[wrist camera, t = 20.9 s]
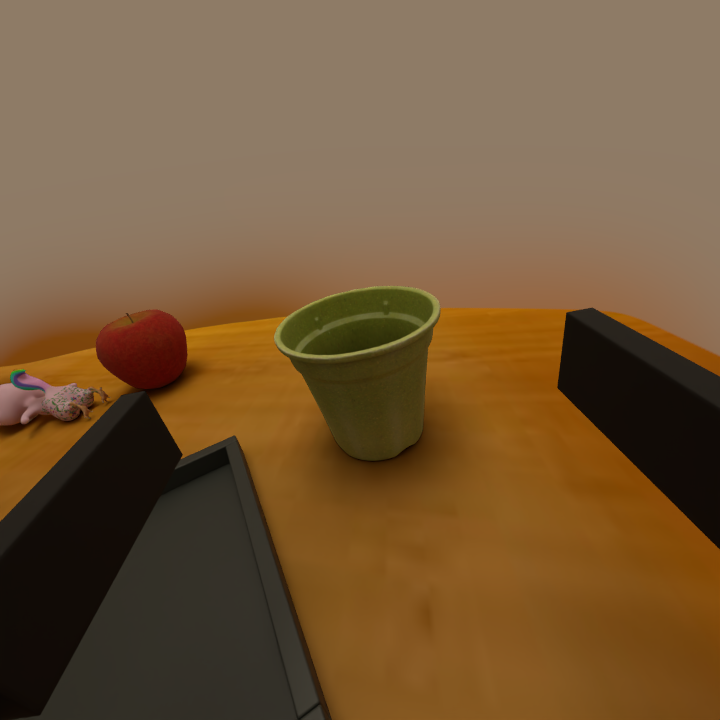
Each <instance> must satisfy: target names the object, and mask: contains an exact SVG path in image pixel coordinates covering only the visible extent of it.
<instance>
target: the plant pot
mask: <svg viewBox="0 0 720 720" xmlns="http://www.w3.org/2000/svg"><path fill="white" fill-rule="evenodd" d="M439 317H440V304H439V301H438V300H437V299H436V298H435V297H434V296H433V295H432V294H430V293H428V292H426V291H423V290H420V289H416V288H411V287H402V286H378V287H369V288H362V289H356V290H351V291H347V292H343V293H339V294H335V295H331V296H328V297H326V298H323V299H320V300H318V301H315V302H312V303H311V304H308V305H306V306H304V307H303V308H301V309H299V310H297V311H296V312H294V313H293V314H291V315H289V316H288V317H287V318H286V319H285V320H283V322H282V323H281V324H280V325H279V326H278V328H277V330H276V333H275V336H274V340H275V343H276V345H277V347H278V349H279V350H280V351H281V352H282V353H283V354H284V355H286V356H287V357H289V358H290V360H291V362H292V364H293V366H294V367H295V368H296V370H298V371H299V372H300V373H301V374H302V376H303V377H304V379H305V381H306V383H307V385H308V387H309V389H310V391H311V393H312V394H313V396H314V398H315V400H316V402H317V404H318V406H319V408H320V410H321V412H322V414H323V416H324V418H325V420H326V422H327V424H328V426H329V428H330V430H331V432H332V434H333V436H334V438H335V440H336V442H337V444H338V445H339V446H340V447H341V448H342V449H343V450H344V451H345V452H346V453H347V454H348V455H350V456H352V457H354V458H357V459H361V460H368V461H377V460H385V459H389V458H392V457H395V456H397V455H398V454H399V453H400V452H401V451H402V450H404V449H405V448H407V447H408V446H410V445H413V444H415V443H416V442H417V441H418V439H419V438H420V436H421V433H422V431H423V420H424V400H425V383H426V368H427V355H428V347H429V345H430V343H431V340H432V335H433V327H434V326H435V325H436V323H437V321H438V319H439Z"/></svg>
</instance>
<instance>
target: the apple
mask: <svg viewBox="0 0 720 720" xmlns="http://www.w3.org/2000/svg"><path fill="white" fill-rule="evenodd" d="M126 314H127V316H125V317H122V318H120V319H118V320H116V321H114V322H112V323H110V324H108V325H106V326H105V327H104V328H103V329H102V330H101V332H100V334H99V336H98V338H97V341H96V352H97V357H98V359H99V360H100V362H101V363H102V365H103V366H104V367H105V368H106V369H107V370H108V371H110V372H111V373H112V374H113V375H115V376H116V377H118V378H119V379H120V380H122V381H124V382H126V383H127V384H129V385H131V386H133V387H135V388H139V389H156V388H161V387H163V386H166V385H168V384H170V383H171V382H173V381H175V380H176V379H177V378H178V377H179V376H180V374H181V373H182V371H183V370H184V368H185V366H186V362H187V343H186V335H185V332H184V330H183V327H182V326H181V324H179V322H178V321H177V320H176V319H175V318H174V317H173V316H172V315H170V314H168V313H165V312H163V311H160V310H146V311H142V312H138V313H134V314H131V315H129V314H128V313H126Z"/></svg>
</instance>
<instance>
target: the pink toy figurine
mask: <svg viewBox="0 0 720 720" xmlns="http://www.w3.org/2000/svg"><path fill="white" fill-rule="evenodd" d="M25 371H26V370H24V369H15V370H13V371H12V373H11V375H10V380H11V382H12V383H9V384H3V385H0V425H14V424H17V423H19V422H21V423H22V424H27V423H28V422H30V421H31V420H32V419H33V418H35V417H36V416H37V415H38V414H42V415H50V414H52V415H53V416H55V417H56V418H58V419H60V420H64V421H70V420H73V419H75V418H77V417H78V416H79V414H80V409H81V410H82V411H83V413H84V414H83V415H84V417H85V416H86V415H87V417H88V418H90V417H89V416H88V414H89V412H93V411H90V410H88V407H90V406H91V405H92V404H93V401H94V396H93V392H96V393H99V394H100V396H101V397H102V402H103V400H105V401H106V402H108V401H107V400H106V398H107V397H108V395H107V394H105V392H104V391H102V387H101V388H100V390H97V389H95V388H93V387H89V388H88V389H81V388H78V387H77V384H76V383H72V384H69V385H67V386H62V387H53V386H50V385H48V384H47V383H45V382H44V381H42V380H40V379H37V378H35V377H32V376H29V375H28V374H26V373H25ZM108 398H110V397H108ZM103 403H104V402H103ZM87 417H85V418H87ZM90 419H91V418H90Z"/></svg>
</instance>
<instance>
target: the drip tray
mask: <svg viewBox="0 0 720 720" xmlns="http://www.w3.org/2000/svg"><path fill="white" fill-rule="evenodd" d="M13 720H332V719H331V716H330V713H329V710H328V707H327V704H326V701H325V698H324V695H323V692H322V689H321V686H320V683H319V680H318V677H317V674H316V671H315V668H314V665H313V662H312V659H311V656H310V653H309V650H308V647H307V644H306V641H305V638H304V635H303V632H302V629H301V626H300V623H299V619H298V616H297V613H296V610H295V607H294V604H293V601H292V598H291V595H290V592H289V589H288V586H287V583H286V580H285V577H284V574H283V571H282V568H281V565H280V562H279V559H278V556H277V553H276V550H275V547H274V544H273V541H272V538H271V535H270V532H269V529H268V526H267V523H266V519H265V516H264V513H263V510H262V507H261V504H260V501H259V498H258V495H257V492H256V489H255V486H254V483H253V480H252V477H251V474H250V471H249V468H248V465H247V462H246V459H245V456H244V453H243V450H242V448H241V446H240V444H239V442H238V440H237V438H236V436H232V437H230V438H227V439H225V440H223V441H221V442H219V443H216V444H214V445H212V446H210V447H207V448H205V449H203V450H201V451H198V452H196V453H194V454H192V455H189V456H187V457H185V458H183V459H180V461H179V462H178V464H177V466H176V468H175V470H174V472H173V473H172V475H171V477H170V479H169V481H168V483H167V484H166V486H165V488H164V490H163V492H162V494H161V495H160V497H159V499H158V501H157V503H156V505H155V506H154V508H153V510H152V512H151V514H150V515H149V517H148V519H147V521H146V523H145V525H144V526H143V528H142V530H141V532H140V534H139V536H138V537H137V539H136V541H135V543H134V545H133V547H132V548H131V550H130V552H129V554H128V556H127V558H126V559H125V561H124V563H123V565H122V567H121V569H120V570H119V572H118V574H117V576H116V578H115V580H114V581H113V583H112V585H111V587H110V589H109V591H108V592H107V594H106V596H105V598H104V600H103V602H102V603H101V605H100V607H99V609H98V611H97V613H96V614H95V616H94V618H93V620H92V622H91V624H90V625H89V627H88V629H87V631H86V633H85V635H84V636H83V638H82V640H81V642H80V644H79V646H78V647H77V649H76V651H75V653H74V655H73V657H72V658H71V660H70V662H69V664H68V666H67V667H66V669H65V671H64V673H63V675H62V677H61V678H60V680H59V682H58V684H57V686H56V688H55V689H54V691H53V693H52V695H51V697H50V699H49V700H48V702H47V704H46V706H45V708H44V710H43V711H42V713H41V715H40V716H33V717H27V718H20V719H13Z"/></svg>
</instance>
